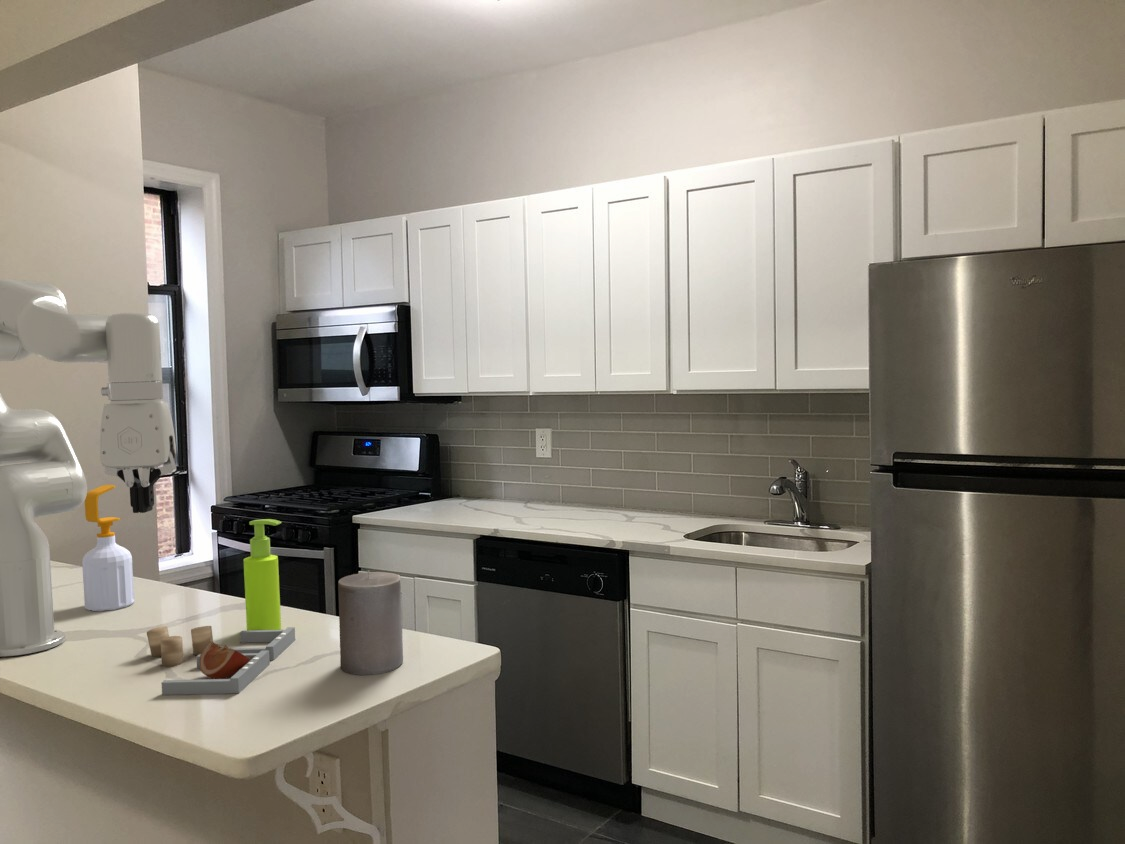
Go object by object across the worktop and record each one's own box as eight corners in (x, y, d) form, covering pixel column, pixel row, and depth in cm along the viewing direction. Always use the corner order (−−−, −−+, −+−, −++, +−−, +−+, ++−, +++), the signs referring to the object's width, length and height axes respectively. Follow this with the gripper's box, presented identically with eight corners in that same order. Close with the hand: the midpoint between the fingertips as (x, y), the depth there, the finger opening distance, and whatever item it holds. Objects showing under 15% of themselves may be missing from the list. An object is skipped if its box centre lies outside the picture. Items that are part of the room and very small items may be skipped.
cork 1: (171, 653, 150) (166, 630, 149) (151, 658, 149) (145, 635, 148) (172, 647, 153) (167, 624, 152) (152, 652, 152) (147, 629, 151)
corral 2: (217, 661, 146) (216, 647, 146) (242, 640, 157) (241, 627, 157) (273, 659, 146) (273, 645, 146) (295, 639, 157) (294, 626, 157)
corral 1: (162, 694, 131) (161, 679, 131) (199, 665, 144) (198, 651, 144) (238, 693, 131) (238, 677, 131) (269, 664, 144) (268, 649, 144)
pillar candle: (330, 664, 143) (326, 570, 142) (387, 650, 149) (383, 560, 148) (357, 680, 135) (353, 581, 134) (415, 665, 141) (412, 571, 140)
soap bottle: (143, 603, 186) (137, 484, 184) (100, 614, 178) (93, 489, 176) (118, 598, 190) (111, 482, 189) (75, 608, 183) (68, 487, 181)
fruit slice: (191, 676, 139) (189, 644, 139) (233, 665, 144) (231, 634, 144) (217, 688, 133) (215, 655, 133) (259, 676, 138) (257, 644, 138)
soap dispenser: (276, 635, 160) (270, 522, 159) (240, 634, 161) (235, 522, 160) (292, 625, 166) (287, 517, 164) (257, 624, 167) (252, 517, 166)
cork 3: (210, 652, 149) (207, 628, 149) (190, 655, 149) (187, 631, 149) (216, 648, 152) (214, 624, 152) (197, 651, 152) (194, 627, 152)
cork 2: (158, 666, 144) (156, 642, 144) (167, 660, 147) (166, 636, 147) (178, 666, 144) (176, 641, 144) (186, 660, 147) (185, 635, 147)
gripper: (75, 395, 137) (82, 516, 138) (173, 393, 136) (179, 514, 137) (101, 394, 144) (107, 509, 145) (194, 391, 144) (200, 506, 145)
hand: (142, 511), depth 141 cm, fingers closed
